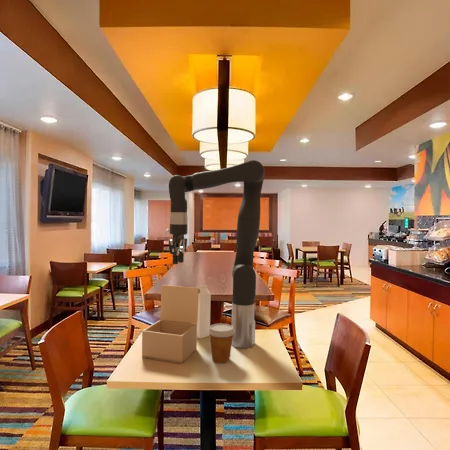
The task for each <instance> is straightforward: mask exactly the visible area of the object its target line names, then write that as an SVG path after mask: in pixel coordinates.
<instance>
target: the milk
mask: <svg viewBox="0 0 450 450" xmlns="http://www.w3.org/2000/svg"><path fill="white" fill-rule="evenodd" d="M207 287H208V286H207V284H202V285H197V286H195V288H199V289H200V293H199V294H198V321H197V338H198V339H199V340H200V339H203V338H206V337H210V334H209V331H208V330H209V329H210V326H211V300H212V299H211V297H212V296H211V292H210V291H209V290H208V289H209V288H207ZM192 324H194V323H192Z"/></svg>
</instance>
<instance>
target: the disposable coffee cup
mask: <svg viewBox="0 0 450 450" xmlns="http://www.w3.org/2000/svg"><path fill="white" fill-rule="evenodd" d="M208 331H209V334H210V336H209V340H210V349H211V350H210V351H211V359H212V362H214V363H218V364H225V363H228V362H230V358H231V351H232V346H233V345H232V338H233V334H234V329H233V326H232V324H229V323H214V324H210V329H209V330H208Z"/></svg>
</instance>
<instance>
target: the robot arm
mask: <svg viewBox="0 0 450 450" xmlns="http://www.w3.org/2000/svg"><path fill="white" fill-rule="evenodd" d="M265 175H266V173H265V168H264V166H263V164H262V163H261V162H260V161H259V160H255V159H251V160H248V161H245V162H243V163H239V164H237V165H233V166H230V167H225V168H218V169H212V170H211V169H210V170H205V171H200V172H195V173H193V174H191V175H185V176H184V175H183V176H182V175H180V174H175V175H173V176H171V177H170V179H169V181H168V194H169V199H170V215H169V234H170V235H172V238H171V239H168V247H169V254H170V255H172V265H178V263H180V264H181V263H182V264H183V263H184V261H185V260H184V255H185V253H186V252H187V249H188V248H187V246H188V238H186V237H185V235H187V234H188V231H189V230H188V227H189V226H188V223H189V221H188V218H189V217H188V200H187V199H186V193H189V192H193V191H197V190H205V189H211V188H216V187H219V186H223V185H227V184H231V183H238V182H239V183H243V192H242V193H243V194H242V199H241V202H240V206H239V209H238V210H239V211H238V215H237V223H236V238H235V239H236V252H235V259H234V263H233V268H232V273H231V274H232V275H231V276H232V296H231V297H232V298H231V326H233V329H234V334H233V338H232V345H231V346H232V347H234V348H239V349H252V348H253V347H254V346H255V343H256V320H255V300H256V293H257V292H256V291H257V274H256V271H255V269H254V253H255V252H254V251H255V248H256V244H257V242H258V241H257V240H258V237H259V232H260V223H261V197H262V195H261V194H262V189H263V184H264V179H265Z"/></svg>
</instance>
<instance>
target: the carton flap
mask: <svg viewBox="0 0 450 450" xmlns="http://www.w3.org/2000/svg"><path fill="white" fill-rule="evenodd" d="M160 287H161V290H160V292H161V293H160V314H159V315H160V317H159V320H166V321H175V322H183V323H194V324H197V321H198V294H199V293H200V289H199V288H196V287H190V286H180V285H168V284H161V286H160Z"/></svg>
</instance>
